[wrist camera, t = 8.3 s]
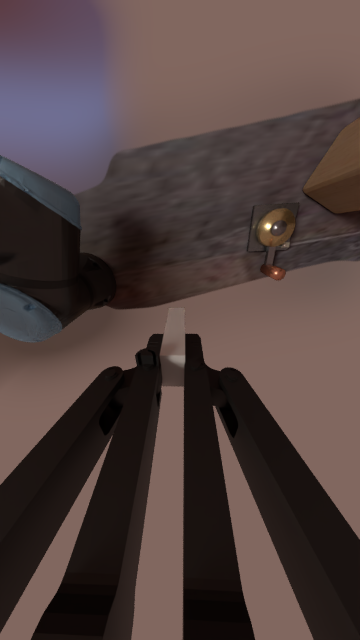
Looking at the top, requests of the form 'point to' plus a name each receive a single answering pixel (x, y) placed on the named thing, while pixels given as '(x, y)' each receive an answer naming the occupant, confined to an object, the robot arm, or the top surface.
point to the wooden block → (339, 173)
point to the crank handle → (274, 237)
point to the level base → (256, 217)
